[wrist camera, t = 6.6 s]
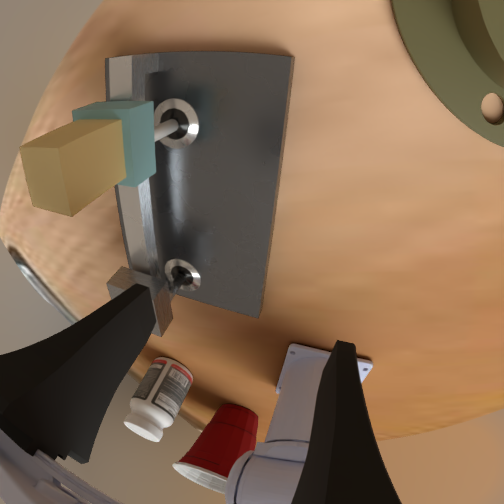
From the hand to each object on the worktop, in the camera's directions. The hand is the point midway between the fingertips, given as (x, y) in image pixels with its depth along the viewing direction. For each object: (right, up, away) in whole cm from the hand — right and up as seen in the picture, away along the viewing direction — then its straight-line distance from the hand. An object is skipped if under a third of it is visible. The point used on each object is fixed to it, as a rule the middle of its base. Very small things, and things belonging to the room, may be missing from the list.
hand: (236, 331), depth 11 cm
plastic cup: (-1, -20, +29) cm, 35 cm away
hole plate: (-4, +7, +10) cm, 12 cm away
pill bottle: (-9, -12, +26) cm, 30 cm away
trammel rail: (-6, +7, +9) cm, 13 cm away
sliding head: (-6, +11, +6) cm, 14 cm away
